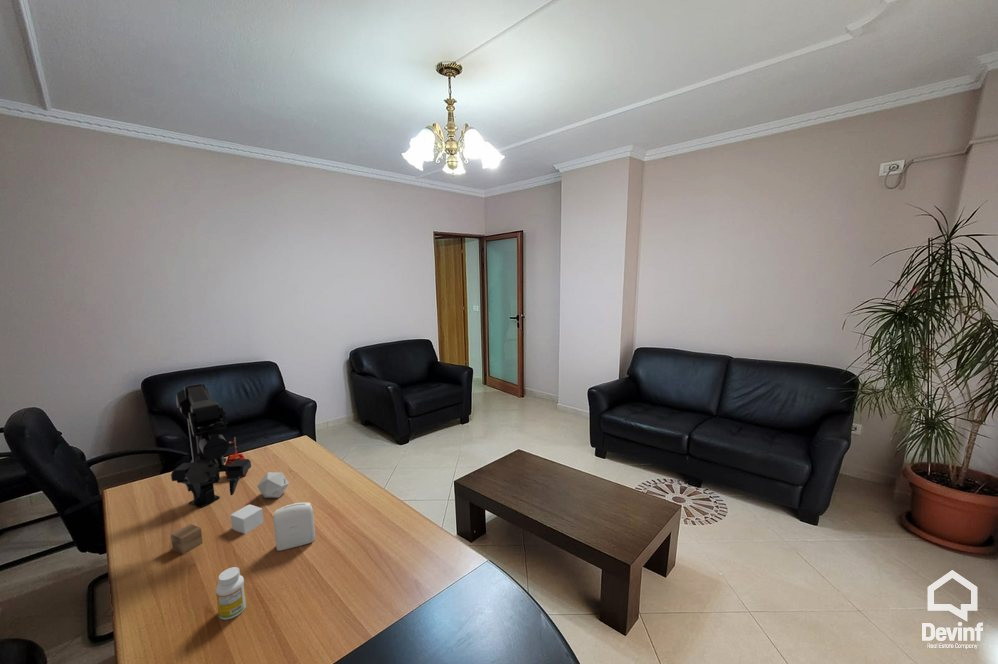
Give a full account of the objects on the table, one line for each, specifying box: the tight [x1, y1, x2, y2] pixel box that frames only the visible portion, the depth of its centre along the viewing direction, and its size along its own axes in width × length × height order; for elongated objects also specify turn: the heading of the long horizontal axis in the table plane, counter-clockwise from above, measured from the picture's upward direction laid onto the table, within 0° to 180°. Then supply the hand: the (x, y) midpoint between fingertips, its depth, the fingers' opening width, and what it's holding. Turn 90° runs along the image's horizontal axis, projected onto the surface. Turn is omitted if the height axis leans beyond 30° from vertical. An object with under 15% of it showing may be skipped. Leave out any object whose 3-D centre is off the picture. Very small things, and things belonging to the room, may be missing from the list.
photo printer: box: [273, 502, 316, 552], centre depth 111 cm, size 10×4×12 cm, turn 114°
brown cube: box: [170, 523, 204, 555], centre depth 110 cm, size 5×5×5 cm
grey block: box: [230, 504, 265, 535], centre depth 119 cm, size 6×6×5 cm
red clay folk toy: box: [224, 436, 249, 479], centre depth 149 cm, size 8×7×15 cm
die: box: [256, 471, 290, 499], centre depth 136 cm, size 8×9×10 cm
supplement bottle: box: [215, 566, 247, 620], centre depth 89 cm, size 5×5×10 cm
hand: (215, 496), depth 113 cm, fingers open, 9 cm apart
